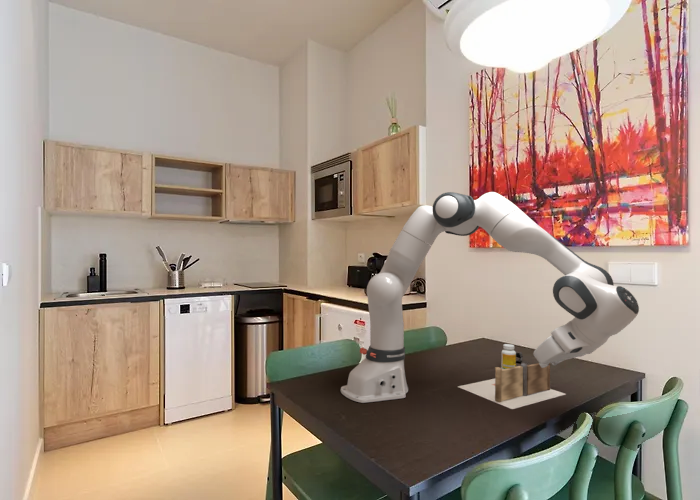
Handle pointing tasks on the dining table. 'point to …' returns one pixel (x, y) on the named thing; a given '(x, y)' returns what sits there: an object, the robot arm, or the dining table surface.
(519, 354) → the black blocky piece
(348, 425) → the dining table surface
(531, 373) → the fixed fence section
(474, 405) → the dining table surface
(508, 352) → the supplement bottle
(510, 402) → the card
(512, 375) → the folding fence section
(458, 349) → the dining table surface
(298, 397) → the dining table surface
